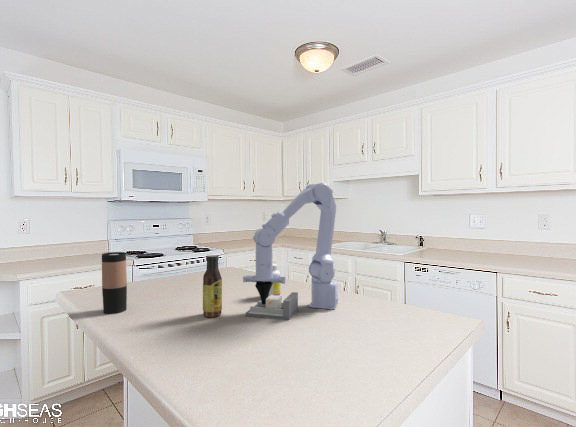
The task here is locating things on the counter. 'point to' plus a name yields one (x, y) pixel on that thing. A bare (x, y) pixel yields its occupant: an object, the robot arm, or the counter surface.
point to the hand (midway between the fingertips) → (264, 303)
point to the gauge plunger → (274, 302)
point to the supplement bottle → (275, 286)
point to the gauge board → (284, 313)
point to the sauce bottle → (212, 288)
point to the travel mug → (114, 282)
